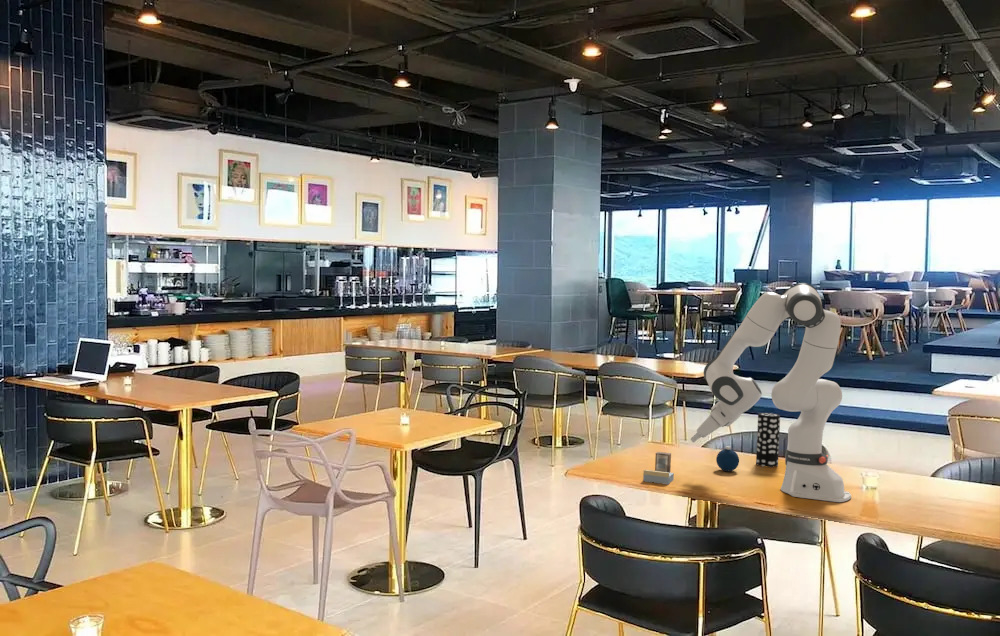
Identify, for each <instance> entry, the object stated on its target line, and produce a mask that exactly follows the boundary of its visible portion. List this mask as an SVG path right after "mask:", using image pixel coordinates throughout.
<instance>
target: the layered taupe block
mask: <svg viewBox="0 0 1000 636" xmlns="http://www.w3.org/2000/svg"><path fill="white" fill-rule="evenodd" d="M671 462H672V453H671V452H663V451H657V452H655V465H654V471H661V472H669V473H671V466H672V465H671Z"/></svg>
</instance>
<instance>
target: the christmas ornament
mask: <svg viewBox="0 0 1000 636" xmlns="http://www.w3.org/2000/svg"><path fill="white" fill-rule="evenodd" d="M715 461H716V464H717V466H718V468H719V469H721V470H722V471H724V472H732V471H735V470H736V469H737V468H738V466H739V464H740V457H739V455H738V453H737V452H736V451H735V450H733V449H732V447H731V445H727V446H725V448H723V449H721V450H720V451H719V452H718V453H717V455H716V459H715Z"/></svg>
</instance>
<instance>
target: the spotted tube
mask: <svg viewBox="0 0 1000 636" xmlns="http://www.w3.org/2000/svg"><path fill="white" fill-rule="evenodd" d="M780 424H781V415H780V414H778V413H773V412H772V413H770V412H759V413H757V430H756V432H757V433H756V435H757V436H756V454H755V457H756V459H755V465H757V464H758V465H757V466H759V465H761V466H760V467H764V466H769V467H768V468H774V467H773V466H777V467H779V456H780V455H779V453H780V452H779V450H780V448H779V447H780V429H781V428H780Z"/></svg>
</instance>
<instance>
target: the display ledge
mask: <svg viewBox="0 0 1000 636" xmlns="http://www.w3.org/2000/svg"><path fill="white" fill-rule="evenodd" d="M674 474H675V473H674V472H670V473H669V472H661V471H655V470H652V469H643V474H642V475H643V477H642V479H643V480H642V481H643V482H644V481H645V482H646V483H652V482H654V483H653V484H660V483H662V484H661V485H669V484H671V483H672V482H673V481H674V476H675V475H674ZM670 482H671V483H670Z"/></svg>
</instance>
